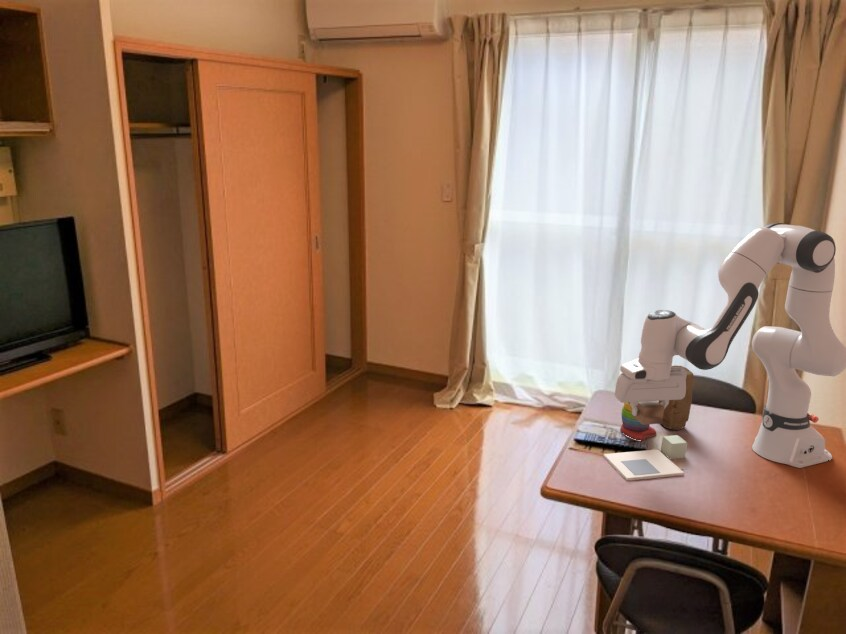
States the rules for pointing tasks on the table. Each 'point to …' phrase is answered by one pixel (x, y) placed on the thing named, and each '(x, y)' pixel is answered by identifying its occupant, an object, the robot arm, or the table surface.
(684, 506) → the table surface
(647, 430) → the stacking bear
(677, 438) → the sage cube
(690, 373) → the block
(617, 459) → the white flat board
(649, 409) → the walnut cube
